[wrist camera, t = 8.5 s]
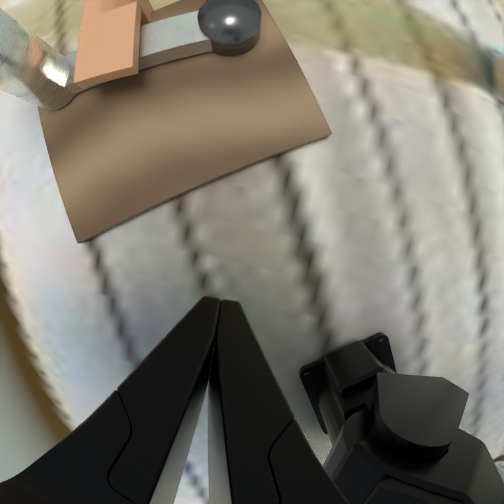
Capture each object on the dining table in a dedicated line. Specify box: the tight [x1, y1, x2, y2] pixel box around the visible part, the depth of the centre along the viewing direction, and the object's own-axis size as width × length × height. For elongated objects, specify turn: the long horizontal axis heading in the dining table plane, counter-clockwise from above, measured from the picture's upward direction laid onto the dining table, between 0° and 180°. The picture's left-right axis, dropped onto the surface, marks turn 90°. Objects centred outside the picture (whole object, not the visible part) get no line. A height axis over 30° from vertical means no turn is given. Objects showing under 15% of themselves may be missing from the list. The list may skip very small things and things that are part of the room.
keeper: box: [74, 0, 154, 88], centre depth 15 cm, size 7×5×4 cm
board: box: [38, 0, 332, 244], centre depth 18 cm, size 13×17×1 cm
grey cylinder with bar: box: [0, 0, 262, 111], centre depth 11 cm, size 16×4×11 cm, turn 101°
